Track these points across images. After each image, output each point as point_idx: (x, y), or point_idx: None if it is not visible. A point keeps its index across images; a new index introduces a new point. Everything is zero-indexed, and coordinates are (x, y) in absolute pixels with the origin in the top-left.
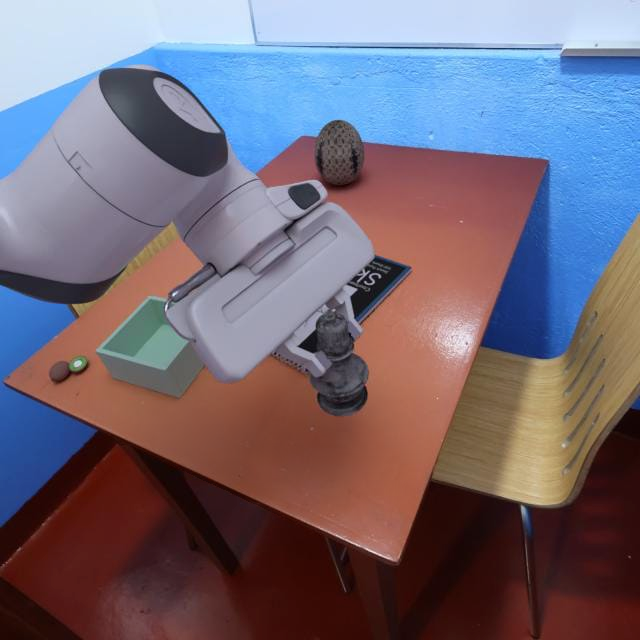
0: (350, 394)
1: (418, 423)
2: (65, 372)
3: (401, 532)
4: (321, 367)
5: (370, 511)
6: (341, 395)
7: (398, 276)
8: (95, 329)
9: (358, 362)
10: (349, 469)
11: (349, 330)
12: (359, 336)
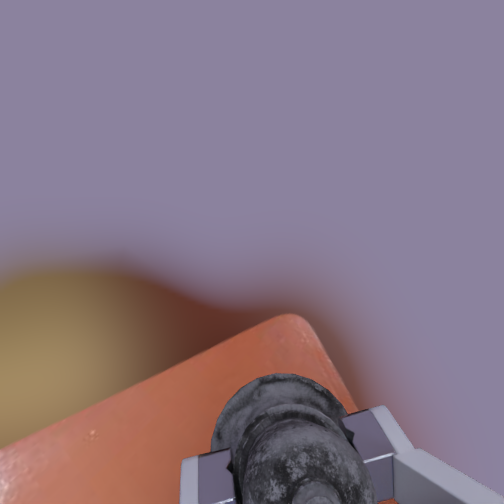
0: (302, 377)
1: (148, 418)
2: None
3: (275, 321)
4: (382, 417)
5: (287, 363)
6: (321, 387)
7: None
8: None
9: (230, 438)
10: None
11: (225, 480)
12: (205, 453)
